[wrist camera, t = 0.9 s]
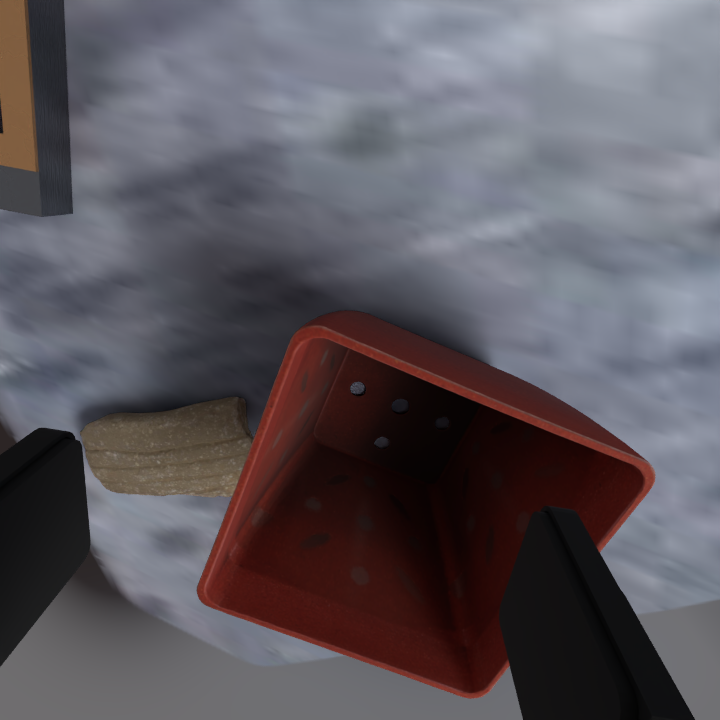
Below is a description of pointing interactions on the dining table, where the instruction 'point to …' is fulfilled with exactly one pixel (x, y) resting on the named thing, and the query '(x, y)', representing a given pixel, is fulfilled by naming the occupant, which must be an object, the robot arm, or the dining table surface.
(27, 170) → the rack
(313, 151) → the dining table surface
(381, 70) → the dining table surface
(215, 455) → the decorative stone
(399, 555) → the plant pot
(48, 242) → the dining table surface
